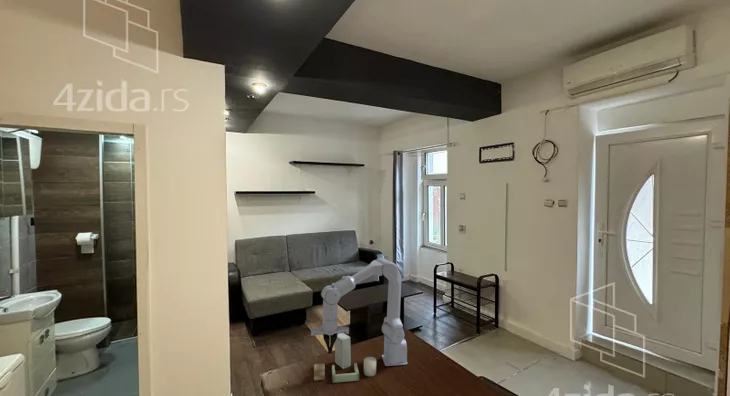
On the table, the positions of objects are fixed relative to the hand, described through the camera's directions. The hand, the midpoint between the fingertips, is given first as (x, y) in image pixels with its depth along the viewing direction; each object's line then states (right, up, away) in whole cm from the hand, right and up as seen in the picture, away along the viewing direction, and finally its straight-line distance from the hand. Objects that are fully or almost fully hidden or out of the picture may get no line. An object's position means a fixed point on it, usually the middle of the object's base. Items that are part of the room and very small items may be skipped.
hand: (329, 352), depth 118 cm
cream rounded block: (+16, -10, +3) cm, 19 cm away
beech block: (-4, -10, 0) cm, 10 cm away
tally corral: (+6, -10, 0) cm, 11 cm away
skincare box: (+4, -10, +8) cm, 13 cm away
